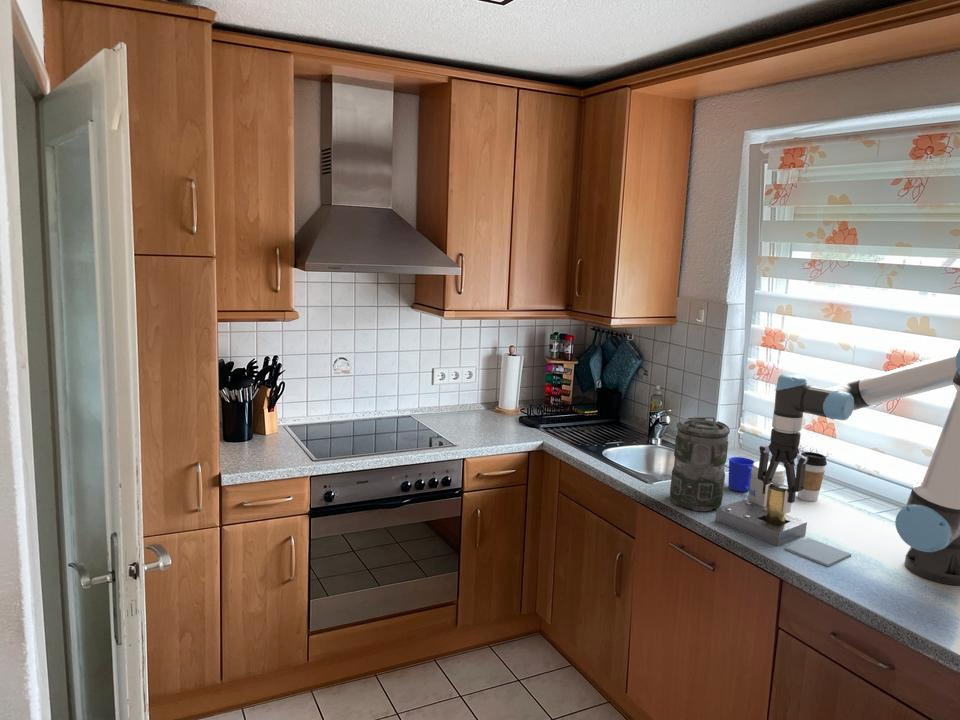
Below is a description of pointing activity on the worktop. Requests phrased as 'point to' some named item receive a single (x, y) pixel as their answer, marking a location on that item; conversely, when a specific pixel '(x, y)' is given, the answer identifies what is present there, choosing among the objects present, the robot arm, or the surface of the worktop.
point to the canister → (699, 463)
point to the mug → (740, 473)
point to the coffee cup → (813, 476)
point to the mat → (818, 552)
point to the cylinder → (776, 504)
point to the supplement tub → (757, 485)
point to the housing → (759, 523)
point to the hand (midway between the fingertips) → (776, 509)
